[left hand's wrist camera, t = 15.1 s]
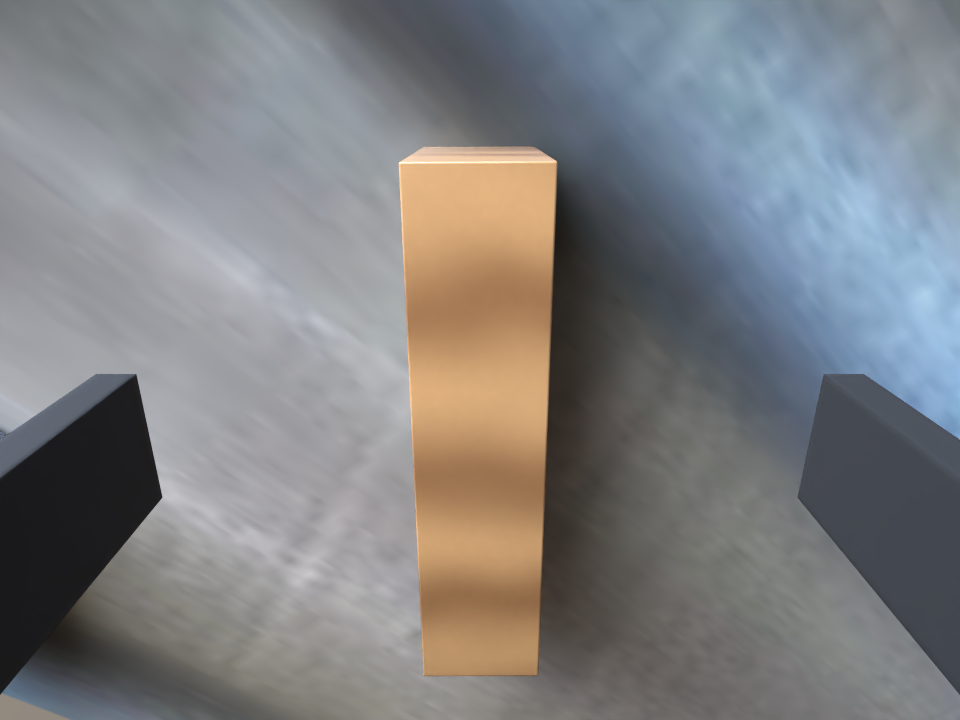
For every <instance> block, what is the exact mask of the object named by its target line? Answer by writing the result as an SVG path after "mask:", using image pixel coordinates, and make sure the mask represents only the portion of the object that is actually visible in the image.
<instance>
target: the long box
mask: <svg viewBox="0 0 960 720" xmlns="http://www.w3.org/2000/svg"><path fill="white" fill-rule="evenodd" d="M557 166H558V163H557V161H555V160H554V159H552V158H551V157H549V156H548V155H546V154H545V153H543V152H541V151H540V150H538V149H537V148H535V147H423V148H421V149H420V150H418V151H417V152H415V153H413V154H412V155H410V156H409V157H407V158H405V159H404V160H402V161H401V162H399V178H400V199H401V219H402V240H403V261H404V281H405V302H406V322H407V343H408V364H409V384H410V405H411V426H412V446H413V467H414V487H415V508H416V529H417V549H418V570H419V591H420V611H421V632H422V652H423V673H424V676H537V675H538V665H539V639H540V612H541V586H542V560H543V534H544V507H545V481H546V455H547V429H548V402H549V376H550V350H551V324H552V297H553V271H554V245H555V219H556V192H557Z"/></svg>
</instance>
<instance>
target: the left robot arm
mask: <svg viewBox="0 0 960 720" xmlns="http://www.w3.org/2000/svg"><path fill="white" fill-rule="evenodd" d="M161 498H162V493H161V489H160V484H159V479H158V475H157V470H156V465H155V460H154V456H153V451H152V446H151V442H150V437H149V432H148V427H147V423H146V418H145V413H144V409H143V404H142V399H141V394H140V390H139V385H138V380H137V376H136V374H96V375H94V376H93V377H91V378H90V379H88V380H87V381H85V382H84V383H83V384H81V385H80V386H78V387H77V388H75V389H74V390H72V391H71V392H69V393H68V394H66V395H65V396H64V397H62V398H61V399H59V400H58V401H56V402H55V403H53V404H52V405H50V406H49V407H47V408H46V409H45V410H43V411H42V412H40V413H39V414H37V415H36V416H34V417H33V418H31V419H30V420H29V421H27V422H26V423H24V424H23V425H21V426H20V427H18V428H17V429H15V430H14V431H12V432H11V433H10V434H8V435H5V434H4V433H2V432H1V431H0V694H1V693H2V692H3V691H4V689H5V688H6V687H7V686H8V685H9V683H10V682H11V681H12V680H13V678H14V677H15V676H16V675H17V674H18V672H19V671H20V670H21V669H22V667H23V666H24V665H25V664H26V663H27V661H28V660H29V659H30V658H31V657H32V655H33V654H34V653H35V652H36V650H37V649H38V648H39V647H40V646H41V644H42V643H43V642H44V641H45V640H46V638H47V637H48V636H49V635H50V633H51V632H52V631H53V630H54V629H55V627H56V626H57V625H58V624H59V623H60V621H61V620H62V619H63V618H64V616H65V615H66V614H67V613H68V612H69V610H70V609H71V608H72V607H73V605H74V604H75V603H76V602H77V601H78V599H79V598H80V597H81V596H82V595H83V593H84V592H85V591H86V590H87V588H88V587H89V586H90V585H91V584H92V582H93V581H94V580H95V579H96V578H97V576H98V575H99V574H100V573H101V571H102V570H103V569H104V568H105V567H106V565H107V564H108V563H109V562H110V560H111V559H112V558H113V557H114V556H115V554H116V553H117V552H118V551H119V550H120V548H121V547H122V546H123V545H124V543H125V542H126V541H127V540H128V539H129V537H130V536H131V535H132V534H133V533H134V531H135V530H136V529H137V528H138V526H139V525H140V524H141V523H142V522H143V520H144V519H145V518H146V517H147V516H148V514H149V513H150V512H151V511H152V509H153V508H154V507H155V506H156V505H157V503H158V502H159V501H160V500H161ZM798 498H799V500H800V501H801V502H802V503H803V505H804V506H805V507H806V508H807V509H808V511H809V512H810V513H811V514H812V516H813V517H814V518H815V519H816V520H817V522H818V523H819V524H820V525H821V526H822V528H823V529H824V530H825V531H826V533H827V534H828V535H829V536H830V537H831V539H832V540H833V541H834V542H835V543H836V545H837V546H838V547H839V548H840V550H841V551H842V552H843V553H844V554H845V556H846V557H847V558H848V559H849V560H850V562H851V563H852V564H853V565H854V567H855V568H856V569H857V570H858V571H859V573H860V574H861V575H862V576H863V578H864V579H865V580H866V581H867V582H868V584H869V585H870V586H871V587H872V588H873V590H874V591H875V592H876V593H877V595H878V596H879V597H880V598H881V599H882V601H883V602H884V603H885V604H886V605H887V607H888V608H889V609H890V610H891V612H892V613H893V614H894V615H895V616H896V618H897V619H898V620H899V621H900V623H901V624H902V625H903V626H904V627H905V629H906V630H907V631H908V632H909V633H910V635H911V636H912V637H913V638H914V640H915V641H916V642H917V643H918V644H919V646H920V647H921V648H922V649H923V650H924V652H925V653H926V654H927V655H928V657H929V658H930V659H931V660H932V661H933V663H934V664H935V665H936V666H937V667H938V669H939V670H940V671H941V672H942V674H943V675H944V676H945V677H946V678H947V680H948V681H949V682H950V683H951V685H952V686H953V687H954V688H955V689H956V691H957V692H958V693H959V694H960V440H959V439H958V438H956V437H955V436H953V435H952V434H950V433H949V432H948V431H946V430H945V429H943V428H942V427H940V426H939V425H937V424H936V423H934V422H933V421H931V420H930V419H929V418H927V417H926V416H924V415H923V414H921V413H920V412H918V411H917V410H915V409H914V408H913V407H911V406H910V405H908V404H907V403H905V402H904V401H902V400H901V399H899V398H898V397H896V396H895V395H894V394H892V393H891V392H889V391H888V390H886V389H885V388H883V387H882V386H880V385H879V384H877V383H876V382H875V381H873V380H872V379H870V378H869V377H867V376H866V375H864V374H824V376H823V380H822V385H821V390H820V394H819V399H818V404H817V409H816V413H815V418H814V423H813V427H812V432H811V437H810V442H809V446H808V451H807V456H806V460H805V465H804V470H803V475H802V479H801V484H800V489H799V493H798Z"/></svg>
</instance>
